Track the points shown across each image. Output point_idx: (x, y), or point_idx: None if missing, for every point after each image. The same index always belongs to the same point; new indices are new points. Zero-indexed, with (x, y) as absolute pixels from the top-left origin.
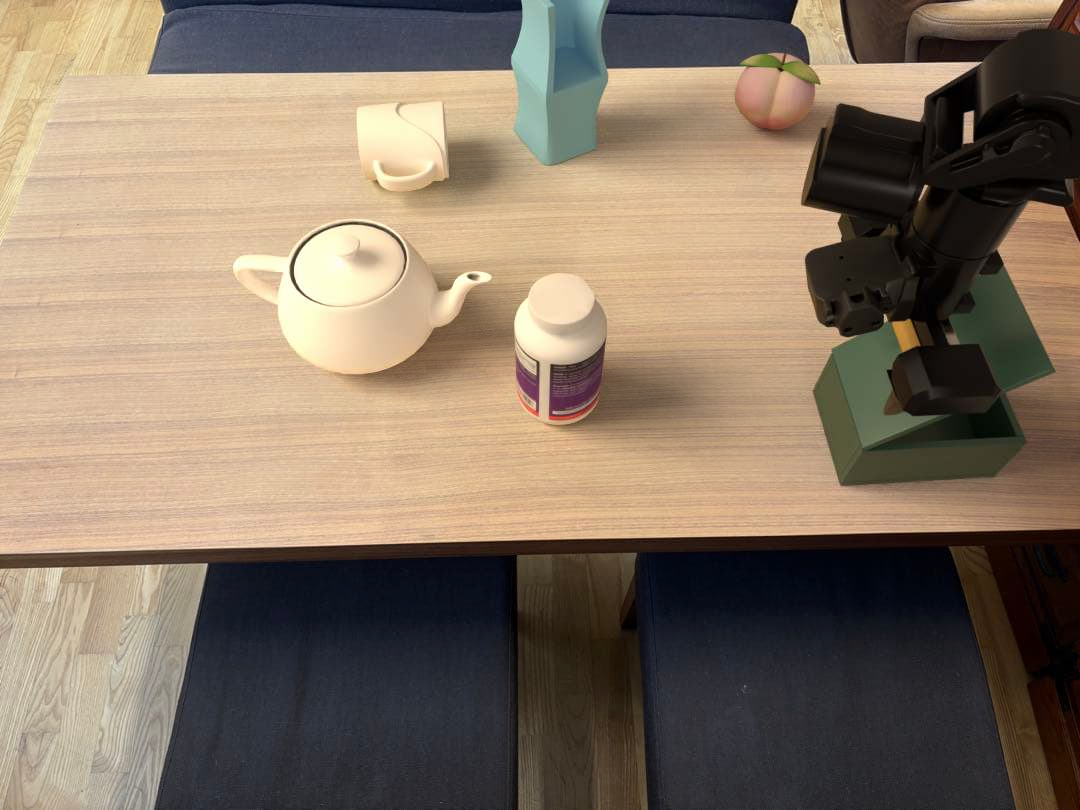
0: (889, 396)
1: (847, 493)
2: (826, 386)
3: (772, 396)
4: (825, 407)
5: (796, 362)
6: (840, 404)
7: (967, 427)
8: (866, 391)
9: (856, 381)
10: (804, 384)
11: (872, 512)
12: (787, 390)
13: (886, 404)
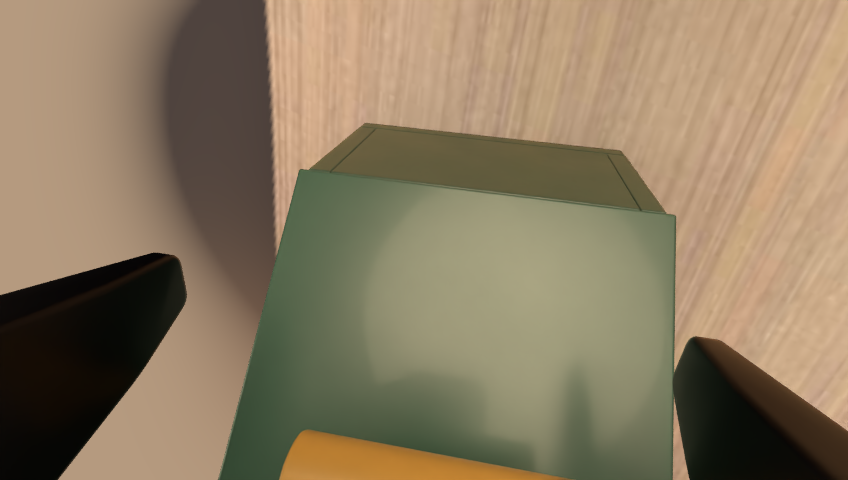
0: (31, 312)
1: (347, 132)
2: (588, 171)
3: (639, 39)
4: (544, 154)
5: (722, 141)
6: (496, 177)
7: None
8: (455, 250)
9: (508, 238)
10: (647, 138)
11: (304, 165)
12: (644, 87)
13: (105, 278)
